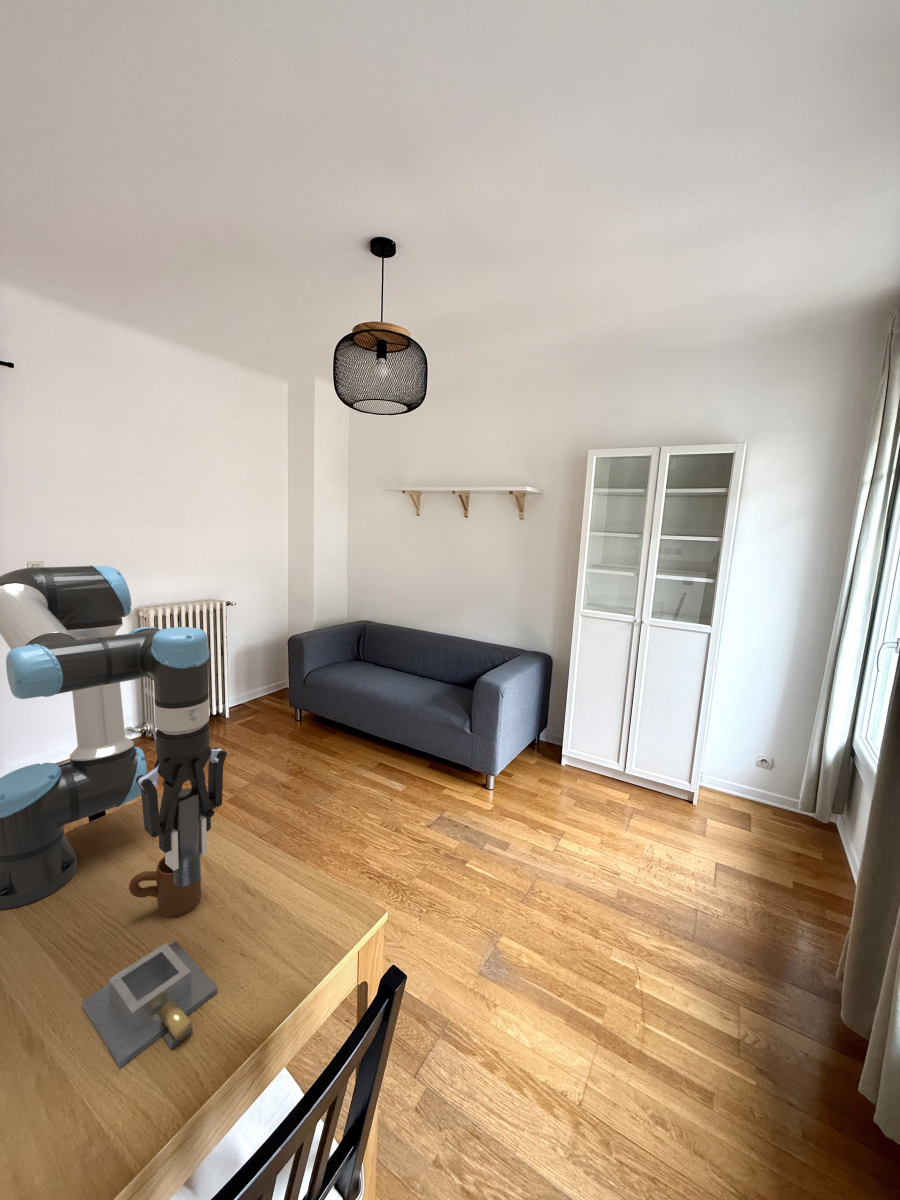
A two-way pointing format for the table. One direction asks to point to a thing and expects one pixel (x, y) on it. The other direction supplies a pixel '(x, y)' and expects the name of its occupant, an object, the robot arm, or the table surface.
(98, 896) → the table surface
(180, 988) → the open box on baseplate
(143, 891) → the mug
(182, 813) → the dark cylinder
